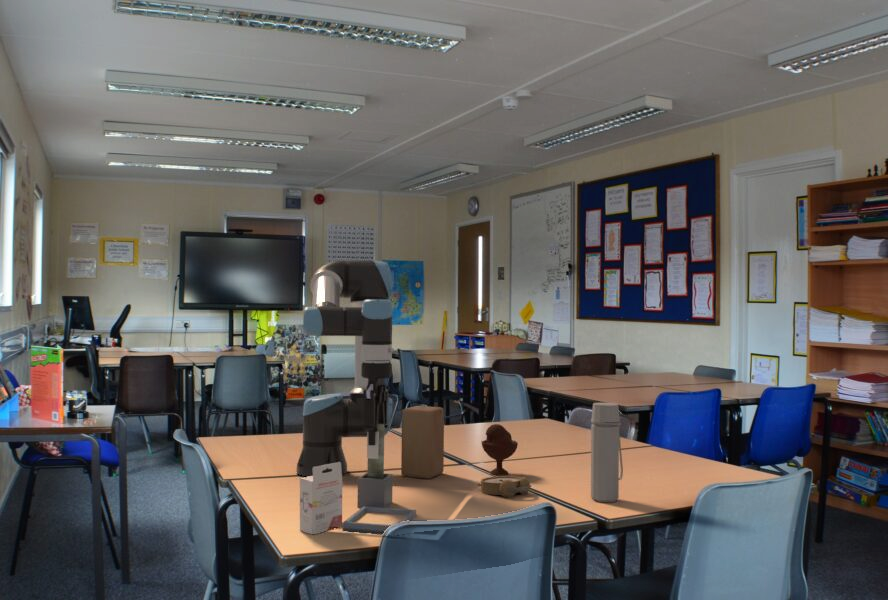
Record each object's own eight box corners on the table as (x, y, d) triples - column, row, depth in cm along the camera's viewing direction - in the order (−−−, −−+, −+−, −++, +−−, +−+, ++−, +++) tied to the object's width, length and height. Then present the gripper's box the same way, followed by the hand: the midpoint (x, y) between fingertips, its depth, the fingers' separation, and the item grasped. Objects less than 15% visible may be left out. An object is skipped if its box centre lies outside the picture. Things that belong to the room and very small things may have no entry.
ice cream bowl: (516, 478, 216) (516, 427, 217) (478, 476, 219) (478, 425, 219) (519, 470, 227) (519, 422, 227) (483, 468, 229) (483, 420, 229)
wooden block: (444, 473, 222) (445, 407, 222) (430, 480, 213) (430, 410, 213) (415, 470, 226) (415, 405, 227) (399, 476, 217) (400, 408, 218)
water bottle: (601, 504, 187) (602, 406, 187) (584, 497, 194) (584, 402, 195) (631, 501, 191) (631, 404, 191) (612, 494, 198) (613, 401, 198)
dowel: (365, 486, 180) (365, 425, 180) (370, 483, 184) (371, 423, 184) (380, 487, 179) (381, 426, 179) (385, 484, 183) (386, 423, 183)
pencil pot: (357, 511, 178) (357, 478, 179) (366, 504, 185) (366, 472, 185) (384, 513, 177) (384, 479, 177) (392, 506, 184) (392, 473, 184)
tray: (342, 531, 162) (342, 522, 162) (363, 514, 175) (363, 506, 175) (399, 536, 159) (399, 526, 159) (416, 518, 173) (416, 510, 173)
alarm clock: (501, 474, 208) (539, 474, 197) (503, 492, 208) (541, 493, 196) (471, 480, 201) (509, 480, 190) (473, 498, 201) (512, 499, 189)
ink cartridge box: (328, 522, 168) (329, 458, 169) (342, 527, 165) (343, 461, 165) (298, 530, 162) (299, 463, 162) (312, 535, 159) (313, 467, 159)
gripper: (381, 364, 173) (379, 464, 172) (400, 359, 189) (399, 450, 189) (350, 363, 174) (349, 462, 174) (372, 359, 191) (371, 449, 191)
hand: (375, 456), depth 181 cm, fingers closed on dowel, 4 cm apart
